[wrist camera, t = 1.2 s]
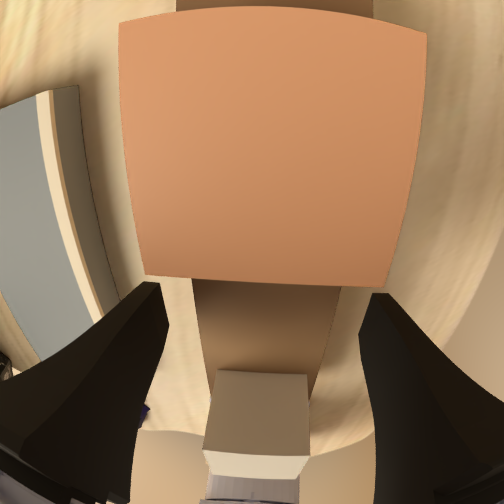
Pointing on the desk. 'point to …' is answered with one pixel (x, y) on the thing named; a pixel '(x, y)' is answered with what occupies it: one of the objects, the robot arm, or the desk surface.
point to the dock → (50, 223)
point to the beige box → (258, 425)
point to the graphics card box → (5, 368)
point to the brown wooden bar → (267, 284)
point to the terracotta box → (270, 142)
